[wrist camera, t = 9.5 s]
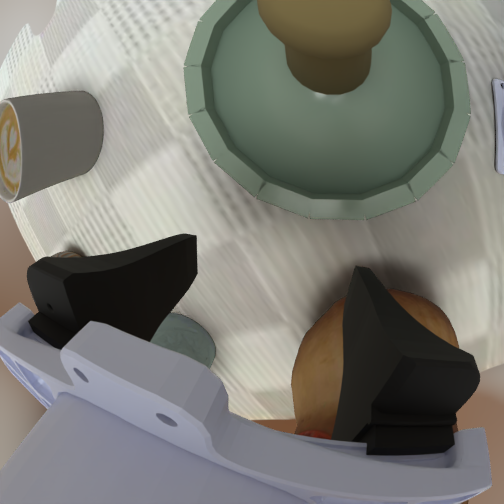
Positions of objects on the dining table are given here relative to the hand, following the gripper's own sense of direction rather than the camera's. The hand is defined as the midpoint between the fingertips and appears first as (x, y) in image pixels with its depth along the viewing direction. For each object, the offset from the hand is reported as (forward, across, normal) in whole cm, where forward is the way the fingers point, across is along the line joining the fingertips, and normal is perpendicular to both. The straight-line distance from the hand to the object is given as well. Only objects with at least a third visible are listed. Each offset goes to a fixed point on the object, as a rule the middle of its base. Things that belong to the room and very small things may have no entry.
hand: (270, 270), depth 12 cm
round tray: (+10, -1, -10) cm, 14 cm away
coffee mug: (+11, +26, -5) cm, 29 cm away
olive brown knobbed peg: (+10, -1, -12) cm, 15 cm away
